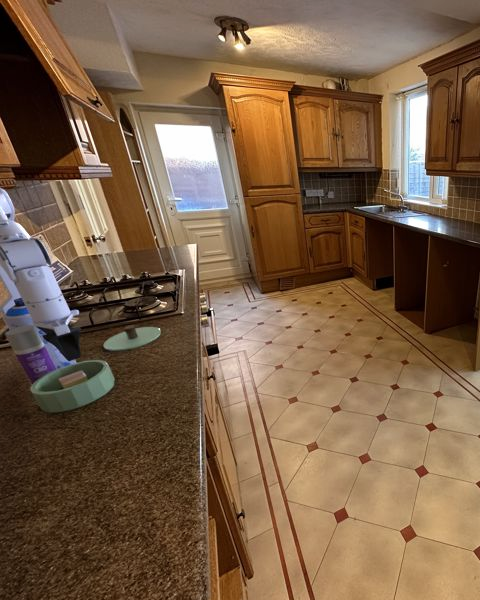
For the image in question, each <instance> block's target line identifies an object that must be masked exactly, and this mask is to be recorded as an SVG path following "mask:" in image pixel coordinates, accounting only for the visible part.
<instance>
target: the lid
mask: <svg viewBox="0 0 480 600" xmlns="http://www.w3.org/2000/svg"><path fill="white" fill-rule="evenodd" d="M123 330H124V331H122V332H120V333H118V334H115V335H113V336H110V337H109V338H108V339H107V340H106V341H105V342H104V343H103V348H104V349H105V351H110V352H122V351H127V350H133V349H136V348H139V347H142V346H144V345H147V344H150V343H151V342H153V341H155V340H156V339H158V338H159V337H160V336H161V334H162V331H161V328H159V327H156V326H144V327H135V325H133V324H131V325H127V326H124V328H123Z"/></svg>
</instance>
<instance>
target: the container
mask: <svg viewBox="0 0 480 600" xmlns="http://www.w3.org/2000/svg"><path fill="white" fill-rule="evenodd" d="M4 335H5V338H6V339H7V342H8V343H9V346H10V347H11V349H12V351H13V353H14V355H15V356H16V357H15V358H16V359H17V360H18V362H19V363H20V366H21V367H22V369H23V370H24V373H25V374H26V376H27V378H28V379H29V381H30V383H31V386H32V385H33V383H34V382H35V381H37V380H38V379H40V378H41V377H43V376H44V375H46V374H48V373H50V372H52V371H54V370H56V369H57V368H56V366H55V364H54V362H53V360H52V358H51V356H50V354H49V352H48V350H47V348H46V346H45V345H44V343H43V341H42V339H41V338H40V336H39V334H38V332H37V331H36V329H35V327H34V326H23V327H18V328H15V329H12V330H9V329H8V331H5V332H4Z"/></svg>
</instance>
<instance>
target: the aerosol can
mask: <svg viewBox="0 0 480 600" xmlns="http://www.w3.org/2000/svg"><path fill="white" fill-rule="evenodd" d="M14 303H15V305H14V306H12V307H11V308H10V309H8V311H7V313H6V314H5V315H4V317H5V321H6V323H7V325H8V326H9V328H10V330H12V329H15V328H18V327H23V326H34V324H33V319H32V317H31V315H30V313H29V311H28V310H27V308H26V306H25V304H24V302H23V300H22V298H19V299H15V300H14ZM5 321H4V322H5ZM6 323H5V324H6ZM7 325H6V326H7ZM34 327H35V329H36V331H37V332H38V334H39V336H40V338H41V339H42V341H43V343H44V345H45V346H46V348H47V350H48V352H49V354H50V356H51V358H52V360H53V362H54V364H55V366H56V368H57V369H59V368H62V367H65V366H67V365H70V364H74V363H77V361H76V360H77V359H75V360H72V361H68V360H67V359H66V358H65V357H64V356H63V355H62V354H61V352H60V351H59V350H58V349H57V348H56V347H55V346H54V345H52V344H51V343H49V342H47V341H46V340H44V338H43V337H42V335H45V333H44V332H43V331H42V330H40V329H38V328H37V327H36V326H34ZM9 328H8V329H9Z"/></svg>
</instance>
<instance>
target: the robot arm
mask: <svg viewBox="0 0 480 600" xmlns="http://www.w3.org/2000/svg"><path fill="white" fill-rule="evenodd" d="M15 212H16V210H15V206H14V204H13V201H12V199H11V198H10V196H9V194H8V192H7V191H6V190H5V189H4V188H1V187H0V281H1V283H2V286H4V289H5V290H6V292H7V294H8V297H7V298H6V299H5V300H4V301H2V302H1V303H0V315H1V318H2V320H3V321H4V324H5V325H6V327H7V328H8V331H9V330H10V328H9V326H8V325H7V323H6V321H5V317H4V315H5V314H6V313H7V311H8V309H10V308H11V307H12V306H14V305H15V303H14V300H15V299H19V298H22V300H23V302H24V304H25V306H26V308H27V310H28V311H29V313H30V315H31V317H32V319H33V324H34V326H36V327H37V328H38V329H40V330H42V331H43V332H44V333H45V335H42V337H43V338H44V340H46V341H47V342H49V343H51V344H52V345H54V346H55V347H56V348H57V349H58V350H59V351H60V352H61V354H62V355H63V356H64V357H65V358H66V359H67V360H68V361H72V360H77V359H80V358H82V352H81V351H82V350H81V347H80V346H81V345H80V336H81V333H82V328H81V327H80V326H75V327H72V328H71V327H70V326H71V320H72V319H73V318H74V317H75V316H78V315H79V314H80V311H79V310H78V309H72V310H70V308H69V305H68V303H67V301H66V299H65V297H64V295H63V293H62V290H61V288H60V286H59V283H58V281H57V279H56V277H55V275H54V273H53V270H52V268H51V266H52V259H51V256H50V254H49V252H48V249H47V247H46V246H45V245H44V243H42V241H41V240H40V239H39V238H38V237H35V236H31V235H29V233H28V232H27V231H26V230H25V228H24V227H23V226H22V224H20V223H19V222H16V221H15V219H16V218H15V217H16V215H15Z"/></svg>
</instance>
